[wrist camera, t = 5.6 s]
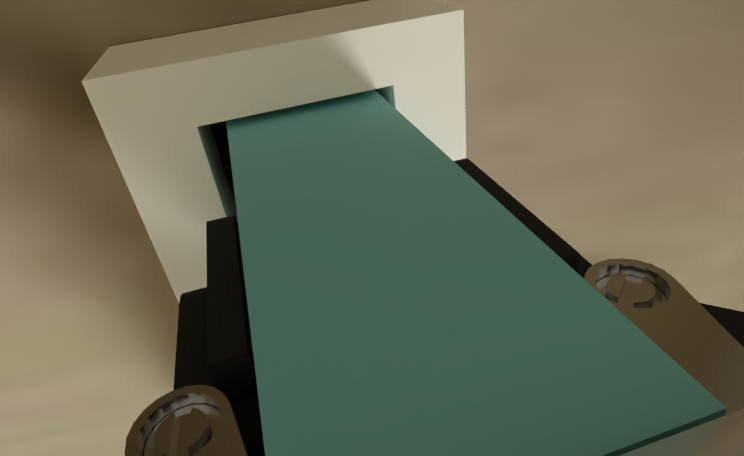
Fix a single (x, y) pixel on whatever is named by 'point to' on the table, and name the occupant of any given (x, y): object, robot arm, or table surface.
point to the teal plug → (425, 306)
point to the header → (263, 101)
